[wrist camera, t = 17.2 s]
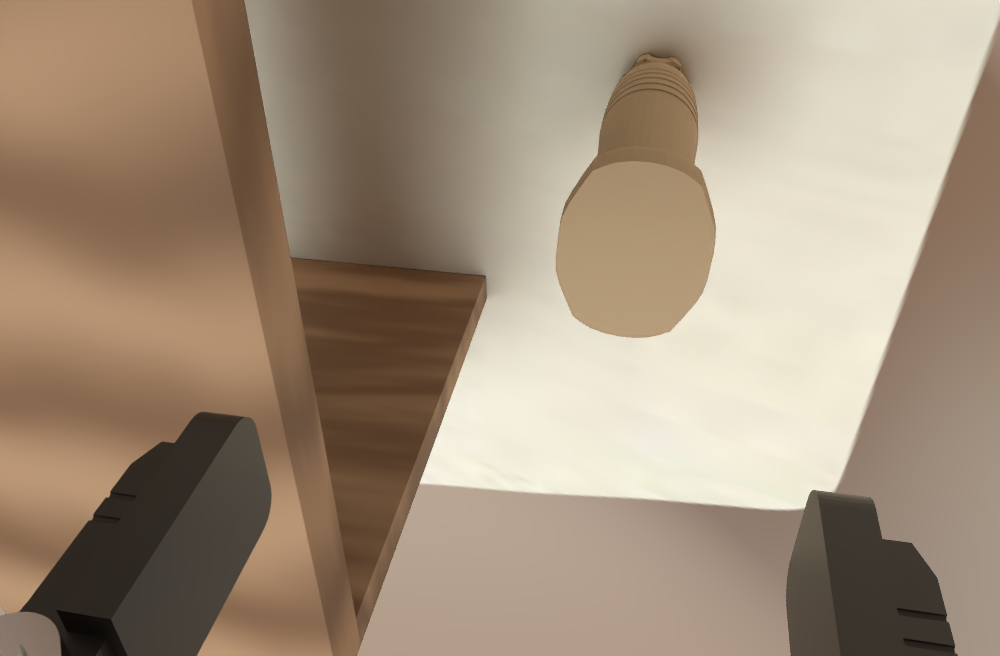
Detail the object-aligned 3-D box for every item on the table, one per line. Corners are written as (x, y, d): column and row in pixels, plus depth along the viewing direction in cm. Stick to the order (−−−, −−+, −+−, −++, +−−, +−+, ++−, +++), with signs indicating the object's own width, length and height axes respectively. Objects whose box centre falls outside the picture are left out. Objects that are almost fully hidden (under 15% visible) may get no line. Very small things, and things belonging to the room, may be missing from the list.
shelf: (183, -241, 35) (-439, -166, 16) (472, -242, 33) (156, -159, 14) (282, 279, 50) (20, 639, 31) (486, 298, 48) (341, 697, 29)
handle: (593, 144, 41) (548, 325, 29) (611, 7, 37) (567, 151, 26) (695, 158, 41) (690, 347, 29) (723, 20, 37) (732, 173, 25)
